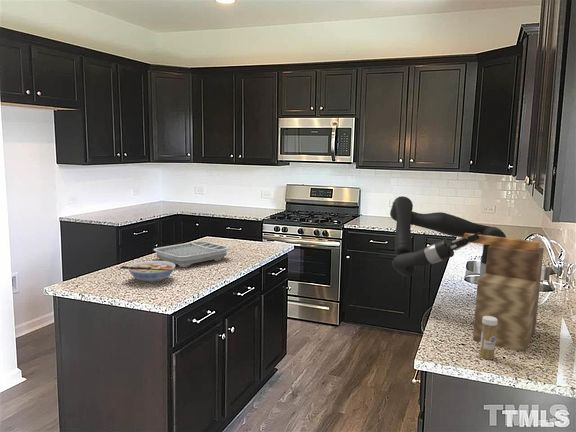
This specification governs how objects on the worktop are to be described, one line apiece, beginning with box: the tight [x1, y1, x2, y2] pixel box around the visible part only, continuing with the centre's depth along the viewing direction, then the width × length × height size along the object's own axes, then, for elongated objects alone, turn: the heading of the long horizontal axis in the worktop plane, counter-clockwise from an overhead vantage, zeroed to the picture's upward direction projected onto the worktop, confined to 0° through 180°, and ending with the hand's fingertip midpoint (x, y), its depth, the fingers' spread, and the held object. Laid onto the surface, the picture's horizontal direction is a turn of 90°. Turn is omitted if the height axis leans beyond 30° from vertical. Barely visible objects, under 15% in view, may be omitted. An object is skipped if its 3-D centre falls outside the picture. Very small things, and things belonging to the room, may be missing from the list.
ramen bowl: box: [119, 260, 177, 284], centre depth 232 cm, size 25×23×8 cm
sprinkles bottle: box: [478, 316, 498, 360], centre depth 154 cm, size 5×5×14 cm
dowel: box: [463, 233, 541, 251], centre depth 177 cm, size 26×3×3 cm, turn 56°
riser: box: [472, 245, 545, 353], centre depth 172 cm, size 17×24×32 cm
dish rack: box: [153, 240, 230, 268], centre depth 276 cm, size 32×37×8 cm
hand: (479, 235), depth 181 cm, fingers closed on dowel, 3 cm apart
